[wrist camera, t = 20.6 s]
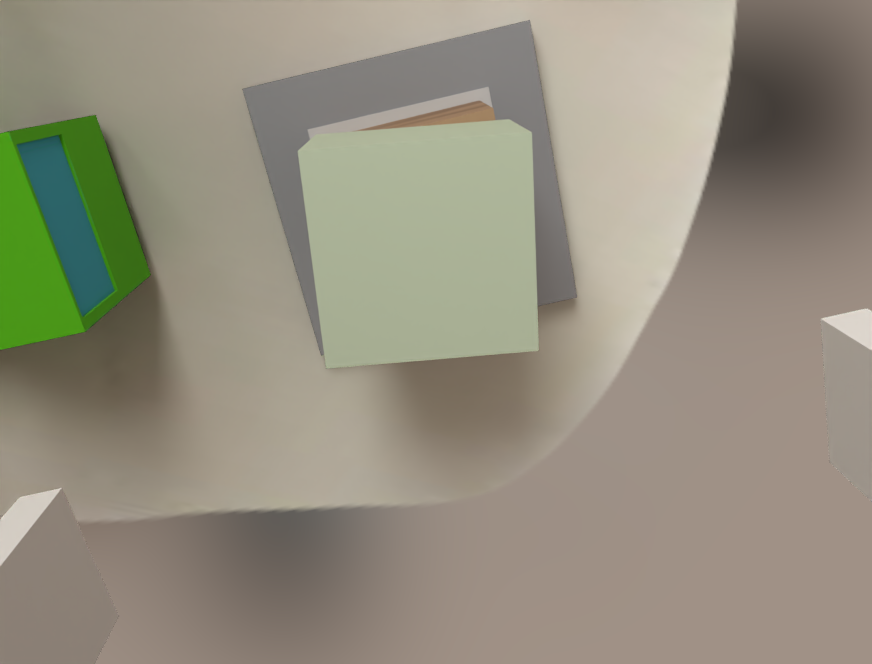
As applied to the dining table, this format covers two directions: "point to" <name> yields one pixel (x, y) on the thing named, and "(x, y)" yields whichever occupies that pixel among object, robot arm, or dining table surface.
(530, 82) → the plate
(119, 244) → the toy car
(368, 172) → the green block
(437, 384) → the dining table surface
